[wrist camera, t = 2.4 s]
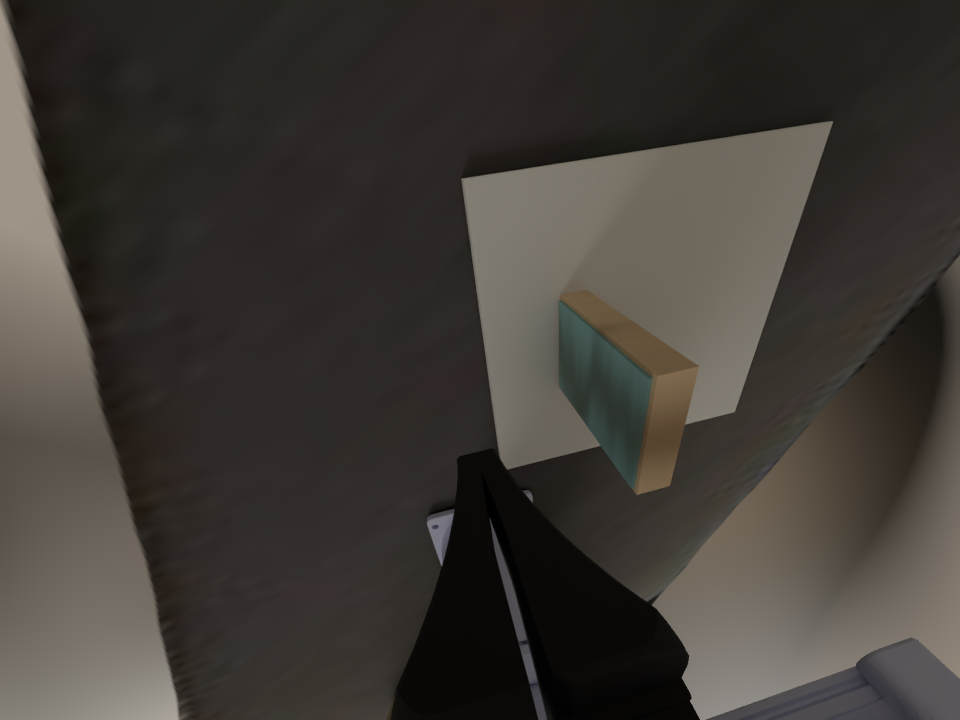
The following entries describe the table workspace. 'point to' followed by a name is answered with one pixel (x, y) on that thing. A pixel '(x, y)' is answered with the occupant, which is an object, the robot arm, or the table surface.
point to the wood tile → (624, 388)
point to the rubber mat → (633, 266)
